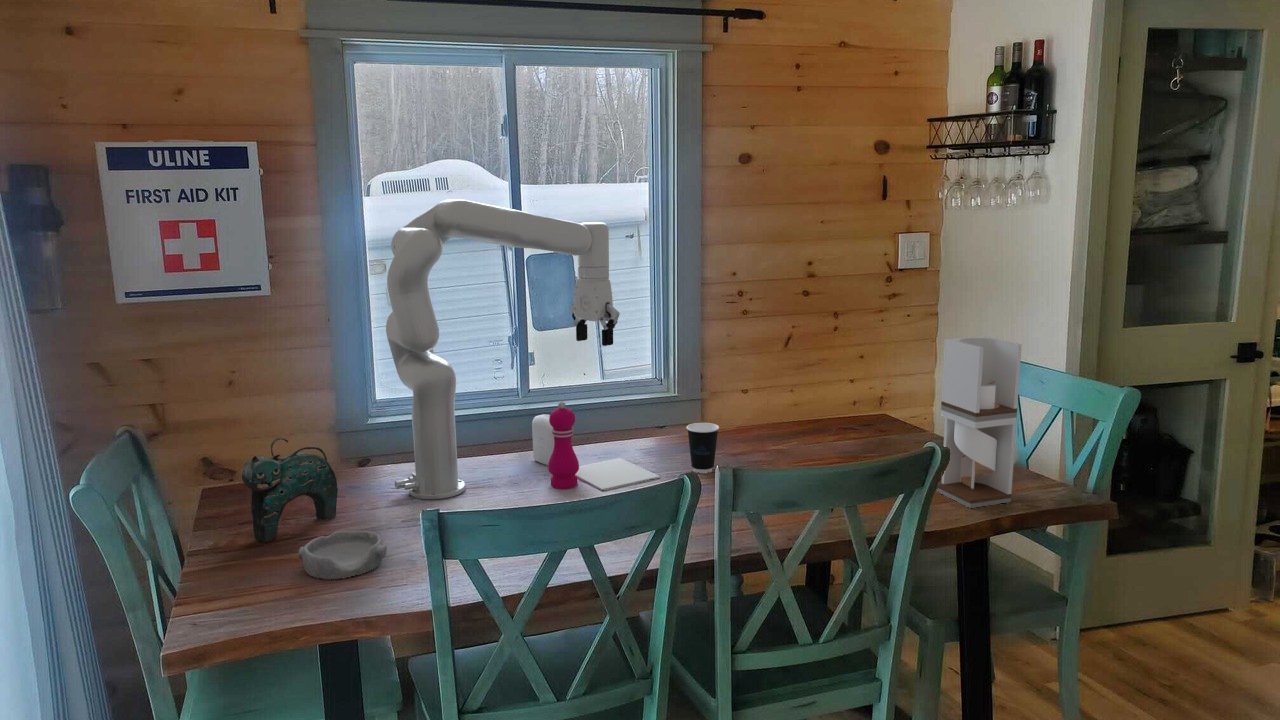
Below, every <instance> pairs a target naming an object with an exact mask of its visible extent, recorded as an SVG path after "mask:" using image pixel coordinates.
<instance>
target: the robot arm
mask: <svg viewBox="0 0 1280 720" xmlns="http://www.w3.org/2000/svg"><path fill="white" fill-rule="evenodd" d="M609 231H610V228H609V226H608V225H607V224H606V223H605V222H601V221H600V222H599V221H596V222H595V221H593V222H592V221H590V222H581V223H579V222H574V221H570V220H564V219H560V218H559V219H558V218H555V217H554V218H552V217H547V216H543V215H538V214H534V213H530V212H526V211H522V210H518V209H513V208H507V207H503V206H498V205H491V204H486V203H481V202H477V201H472V200H467V199H453V198H452V199H451V198H450V199H448V198H447V199H445V200H442V201H440V202H438V203H437V204H435V205H434V206H432V207H430V208H429V209H427V210H426V211H424V212H423V213H421V214H419V216H417V217H416V218H414V219H413V220H411V221H410V222H408V223H405V225H403V226H402V227H401V228H399V229H398V230H397V231H396V232H395V233H394V235H393V237H392V239H391V241H390V242H391V244H390V249H391V253H392V254H393V258H392V259H391V260H392V261H391V263H390V265H389V269H388V271H387V276H386V278H387V279H386V283H387V284H386V286H387V293H388V296H389V301H390V307H391V310H392V311H391V313H390V314H389V315H388V316H387V317H388V318H387V319H386V324H385V332H386V333H385V334H386V338H387V342H388V345H389V349H390V353H391V356H392V359H393V362H394V366H395V370H396V372H397V374H398V375H397V376H398V378H399V380H400V381H401V383H402V384H403V386H405V387H407V388H408V389H409V390H411V391H412V405H411V424H412V425H411V426H412V436H413V437H412V439H413V440H412V441H413V453H414V454H413V455H414V471H415V472H413V471H412V472H411V476H408V477H407V478H405V479H403V478H402V479H397V480H395V481H394V487H395V489H396V490H399V489H404V490H405V491H407V490H409V494H410V495H411V496H412V497H413V498H417V499H419V500H420V499H422V500H442V499H447V498H448V499H449V498H453V497H455V496H458V495H460V494H462V493H463V492H464V491H466V483H465V481H463V480H462V479H459V471H458V469H459V468H458V449H457V447H458V446H457V431H456V413H455V412H456V411H455V405H456V404H455V401H456V390H457V378H456V373H455V370H454V369H453V367H452V366H451V364H450V363H449V362H448V361H447V360H445V359H444V358H442V357H441V356H438V355H436V354H435V352H434V348H435V347H436V345H437V344H438V343H439V338H440V329H439V325H438V322H437V318H436V314H435V310H434V308H433V303H432V300H431V296H430V290H429V284H428V281H429V276H430V275H429V274H430V272H431V270H432V269H433V267H434V266H435V265H436V263H437V262H438V261H439V260H440V258H441V256H442V253H443V245H444V244H446V243H447V242H448V241H449V240H451V239H453V237H454V238H459V239H465V240H469V241H475V242H481V243H486V244H491V245H498V246H502V247H511V248H517V249H534V250H535V249H536V250H541V251H547V252H554V253H555V254H560V255H568V256H577V275H578V278H576V280H575V281H576V282H575V286H574V296H573V304H572V305H570V306H569V309H570V312H571V317H572V320H573V321H574V322H573V324H574V325H575V336H576V337H575V339H576V341H577V342H582V341H586V340H588V323H587V321H589V322H600V324H601V326H602V328H603V329H601V346H602V347H606V346H613V345H614V329H616V325H617V324H618V320H619V317H620V312H619V310H617V308H615V307H614V301H613V291H612V285H611V280H610V247H609V246H610V239H609V238H610V236H609V235H610V232H609Z"/></svg>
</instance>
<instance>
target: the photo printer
mask: <svg viewBox="0 0 1280 720" xmlns="http://www.w3.org/2000/svg"><path fill="white" fill-rule="evenodd" d="M549 417H550V414H539V415H535V417H533V420H532V421H531V427H532V428H531V432H532V433H531V434H532V453H533V460H534V461H536V462H538V463H540V464H543V465H545V466H548V463H549V459H550V457H551V455H552V453H553V450H554V436H552V429H553V427H552V426H551V425H550V423H549Z"/></svg>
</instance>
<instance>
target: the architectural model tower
mask: <svg viewBox="0 0 1280 720" xmlns="http://www.w3.org/2000/svg"><path fill="white" fill-rule="evenodd" d="M943 344H944V347H943V364H942V365H943V366H942V385H941V402H940V403H941V404H940V405H941V406H940V416H941V417H943V418H944V427H943V429H944V430H943V446H944V447H948V448H949V449H950V453H951V454H950V461H949V464H948V466H947V468H946V470H945V471H944V474H943V476H942V475H941V483H938V484H939V486H938V489H937V488H936V493H937V492H938V491H939V493H941V494H943V495H945V496H947V497H949V498H951V499H953V500H955V501H957V502H959V503H961V504H963V505H965V506H966V507H965V506H964V507H965V508H967V507H969V508H974V507H980V506H987V505H993V504H998V503H1005V502H1011V503H1012V490H1013V477H1014V461H1015V460H1014V459H1015V446H1016V433H1017V419H1018V418H1017V417H1018V405H1019V404H1018V403H1019V389H1020V388H1019V387H1020V373H1021V361H1022V346H1023V344H1021V343H1018V342H1017V343H1016V342H1012V341H1009V340H1004V339H999V338H995V337H991V336H987V335H981V336H980V335H979V336H971V337H956V338H944V343H943ZM939 493H938V494H939ZM941 494H940V495H941ZM943 495H942V496H943ZM945 496H944V497H945ZM947 497H946V498H947ZM949 498H948V499H949ZM951 499H950V500H951ZM953 500H952V501H953ZM955 501H954V502H955ZM957 502H956V503H957ZM959 503H958V504H959ZM961 504H960V505H961ZM963 505H962V506H963ZM987 507H988V506H987ZM969 508H968V509H969ZM974 509H975V508H974Z"/></svg>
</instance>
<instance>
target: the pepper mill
mask: <svg viewBox="0 0 1280 720" xmlns="http://www.w3.org/2000/svg"><path fill="white" fill-rule="evenodd" d="M557 406H558V407H557V408H555V409H554V410H552V411H551V412H550V414H549V415H550V417H549V423H550V425H551V426H552V427H553V429H552V436H554V450H553V453H552V455H551V457H550V459H549V463H548V465H547V470H548V472H549V474H551V477H550V486H551V487H552V488H554V489H560V490H564V489H565V490H567V489H572V488H573V489H574V488H575V487H576V486H577V485H578V478H577V476H576V475H575V474H576V473H577V472H578V470H579V466H580V463H579V460H578V457H577V455H576V453H575V451H574V448H573V444H572V443H573V442H572V439H573V437H572V436H574V428H573V426H574V425H575V423H576V416H575V413H574V411H572V410H571V409H570V408H567V407H566V402H564V401H560V402H558V403H557Z"/></svg>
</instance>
